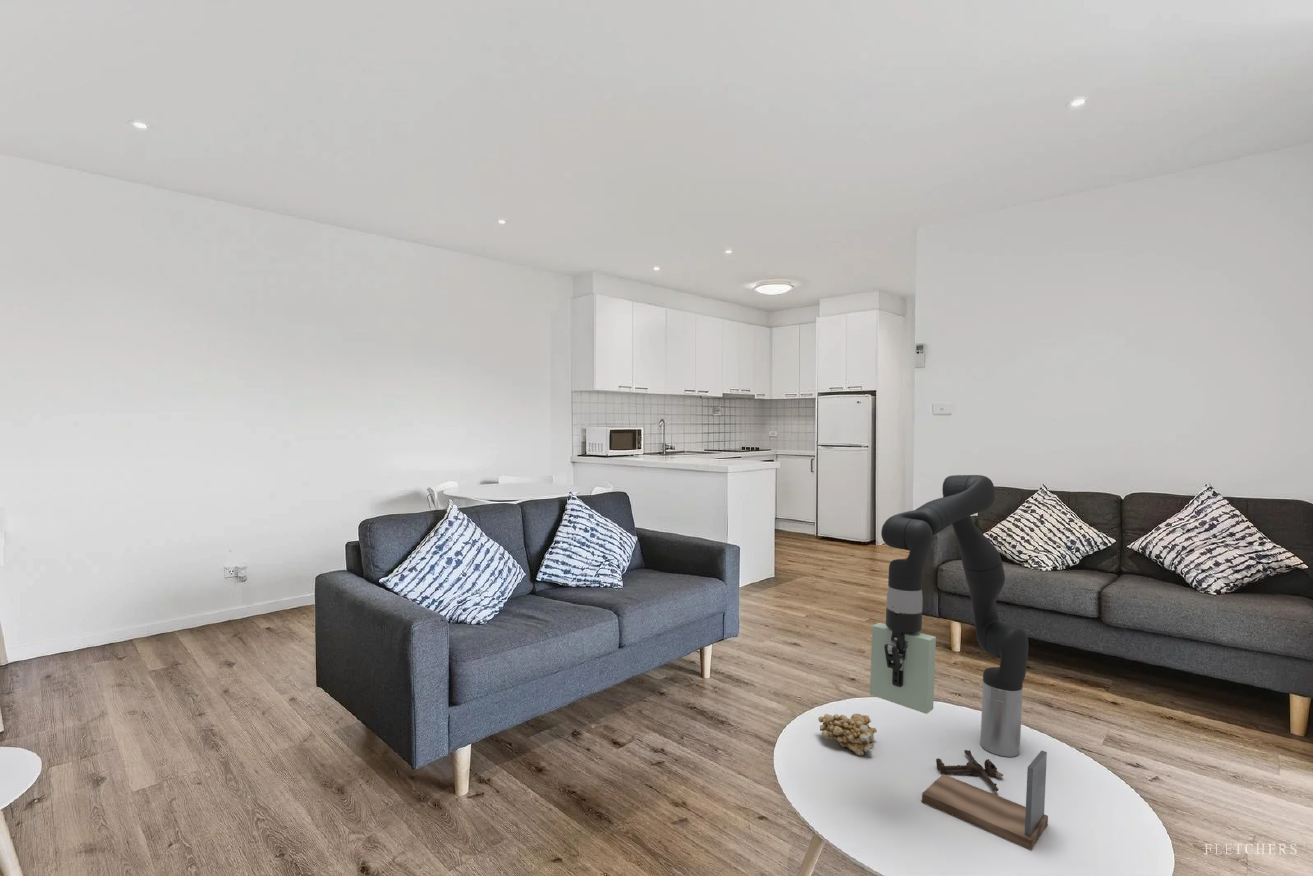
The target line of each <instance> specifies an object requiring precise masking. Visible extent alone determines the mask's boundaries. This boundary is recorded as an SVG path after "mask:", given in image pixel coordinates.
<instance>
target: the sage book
mask: <svg viewBox="0 0 1313 876" xmlns="http://www.w3.org/2000/svg"><path fill="white" fill-rule="evenodd" d="M871 626H872V627H871V649H870V650H871V651H870V652H871V655H870V683H869V684H870V686H869V695H870V696H873V697H876V698H879V699H881V700H884V701H887V702H890V703H893V704H897V705H899V706H902V707H904V708H908V709H910V710H914V711H916V712H919V713H923V714H926V715H928V714H929V713H930V712H932V711H933V710H934V701H935V700H934V699H935V697H934V694H935V672H936V671H935V670H936V669H935V667H936V645H937V644H936V640H937V638H936V636H934V635H929V634H927V633H922V632H920V631H919V632H916V633H906V634H905V641H908V648H907V659H906V660H905V661H904V669H903V686H902V687H897V686H894V685H893V684H892V672H893V669H892V668H888V667H887V661H886V655H885V649H884V646H885V644H890V643H891V636H892V630H891V629H890V628H888V627H887V626H886V623H883V622H877V623H875V624H873V625H871ZM898 655H900V656H903V654H899V653H898ZM899 661H900V659H899Z"/></svg>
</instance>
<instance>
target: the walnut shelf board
mask: <svg viewBox="0 0 1313 876" xmlns="http://www.w3.org/2000/svg"><path fill="white" fill-rule="evenodd" d="M921 803H923V804H925V805H927V806H929V807H931V808H934V809H936V810H938V811H941V812H943V813H945V814H948V815H950V816H952V817H954V818H957V819H959V820H961V821H964V822H966V823H968V824H970V825H973V826H975V827H977V828H979V829H982V830H984V831H986V832H987V833H988V832H989V833H990V834H993V835H996V836H997V837H1000V838H1002V839H1005V840H1006V841H1008V842H1011V843H1014V844H1015V845H1018V846H1020V847H1022V848H1024V849H1028V850H1029V851H1032V849H1033V848H1034V846H1035V845H1036V844H1037V842H1038V841H1039V839H1040V838H1041V836H1042V834H1043V833H1044V831H1045V830H1046V828H1047V827H1048V823H1049V815H1047V814H1045V813H1044V817H1043V819H1042V820H1041V822H1040V823H1039V825H1038V826H1037V828H1036V829H1035V831H1034V832H1033V834H1032V835H1031V837H1028V836H1026V835H1025V815H1026V805H1025V806H1024V805H1022V804H1019V803H1017V802H1015V801H1012V800H1010V799H1007V798H1005V797H1002V796H999V795H998V794H994V793H991V792H989V791H987V790H986V789H985V790H984V789H983V788H980V787H977V786H975V785H973V784H970V783H967V782H964V781H962V780H959V779H958V778H957V779H956V778H955V777H953V776H950V775H948V774H947V775H945V774H942V775H941V774H940V776H939V777H938V778H936V780H935V781H933V783H932V784H931V785H929V787H927V788H926V789H925V790H924V791H923V792H922V793H921Z"/></svg>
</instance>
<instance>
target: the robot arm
mask: <svg viewBox="0 0 1313 876" xmlns="http://www.w3.org/2000/svg"><path fill="white" fill-rule="evenodd" d="M941 491H942V497H940V498H935V499H933V500H930V501H928V502H925V503H924V504H922V505H920V506H919V507H918V508H916V509H914V510H908V511H904V512H901V513H897V514H894V515H892V516H890V517H889V518H888V519H886V520H885V522H884V523H883V525H882V526H881V531H880V532H881V533H880V534H881V539H882V541H883V543H884V544H886V545H887V546H888V547H890V548H893V549H899V550H904V551H909V552H908V556H907V558H898V559H893V560H891V561H890V563H889V565H888V583H887V584H888V586H887V592H886V605H885V606H886V607H885V608H886V609H885V624H886V626H887V627H888V628H890V629H891V630H892V636H891V643H890V644H885V646H884V649H885V655H886V661H887V667H888V668H892V669H893V672H892V684H893V685H894V686H897V687H902V686H903V669H904V661H905V660H906V659H907V648H908V641H905V634H906V633H916V632H919V633H920V632H921V631H922V629H923V601H924V600H923V571H924V567H925V563H926V559H927V557H928V554H929V551H930V548H931V546H932V542H933V537H934V536H936V535H937V534H939V533H940V532H942V531H943V530H944V529H947V527H949V526H952V529H953V531H954V534H955V538H956V541H957V545H958V549H959V553H960V557H961V558H960V560H961V562H962V564H961V565H962V568H963V571H964V576H965V579H966V582H967V587H968V590H969V595H970V600H971V605H972V611H973V617H974V619H973V620H974V627H975V634H976V639H977V644H978V645H979V647H980V649H981V650H982V651H984V652H985V653H987V654H988V655H991V656H992V657H996V658H998V659H1000V663H999V666H994V667H993V666H992V667H987V668H986V669H984V670H983V673H982V695H981V697H982V699H981V718H980V719H981V721H980V739H979V740H980V741H979V742H980V746H981V747H982V748H983V749H984V750H986V751H987V752H989V753H991V754H994V755H997V756H1001V757H1007V758H1008V757H1009V758H1011V757H1012V758H1013V757H1017V756H1019V755H1020V752H1021V751H1020V749H1021V731H1022V730H1021V729H1022V707H1023V687H1024V686H1023V684H1024V680H1025V678H1026V676H1027V675H1026V673H1027V665H1028V658H1029V657H1028V655H1029V637H1028V635H1027V633H1026V631H1025V630H1023V629H1022V628H1021V627H1019V626H1015V625H1012V624H1009V623H1007V622H1004V621H1001V620H1000V618H999V614H998V611H997V604H996V603H997V600H998V597H999V596H1000V594H1001V593H1002V590H1003V589H1004V585H1005V582H1006V581H1005V580H1006V575H1005V569H1004V566H1003V561H1002V558H1001V557H1002V556H1001V555H1000V553H999V551H998V549H997V548H996V547H995V545H994V544H993V543H992V542H991V541H990V540H989V539H988V538H987V536H985V534H984V533H983V532H982V531H981V530H980V529H979V528H978V527H977V526H976V524H975V522H974V521H973V518H972V516H973V515H975V514H978V513H979V514H980V513H981V512H985V511H987V510H989V509H991V507H992V505H993V504H994V502H995V498H996V490H995V484H994V483H993V480H991V478H989V477H988V476H986V475H981V474H966V475H965V474H954V475H949V476H947V477H945V478H944V480H943V484H942V490H941ZM898 653H899V654H903V656H900V655H898ZM899 659H900V661H899Z"/></svg>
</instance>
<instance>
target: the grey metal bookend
mask: <svg viewBox="0 0 1313 876" xmlns="http://www.w3.org/2000/svg"><path fill="white" fill-rule="evenodd" d="M1047 756H1048V752H1047V751H1045V750H1040V752H1039V753H1038V754H1037V755H1036V757H1034V759H1033V760H1032V761H1031V762H1030V763H1029V765H1028V766H1027V769H1026V770H1027V772H1026V774H1027V775H1026V793H1025V794H1026V795H1025V796H1026V797H1025V807H1026V815H1025V835H1026V836H1028V837H1031V835H1032V834H1033V832H1034V831H1035V829H1036V828H1037V826H1038V825H1039V823H1040V822H1041V820H1042V819H1043V817H1044V814H1045V803H1046V802H1045V801H1046V800H1045V799H1046V780H1047Z"/></svg>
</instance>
